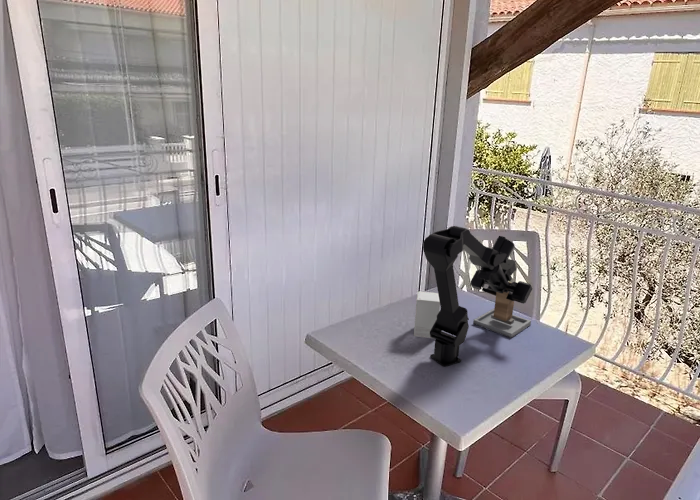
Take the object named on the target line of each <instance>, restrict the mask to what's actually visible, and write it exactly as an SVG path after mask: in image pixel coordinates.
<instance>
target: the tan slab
mask: <svg viewBox="0 0 700 500" xmlns="http://www.w3.org/2000/svg"><path fill="white" fill-rule="evenodd" d="M509 283H512V282H511V281H509ZM508 293H509V292H508ZM508 293H505V292H503V294H502V293H498V292H496V296H495V301H494V308H493V309H494V314H492V315H491V318H492V319H495V320H498V321H501V322H504V323H507V324H509V325H511V324H513V323H514V319H512V314H513V313H514V306H515V301H514V302H513V301H510V300H508V299H506V297H507V295H508ZM513 315H514V314H513Z"/></svg>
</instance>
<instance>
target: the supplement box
mask: <svg viewBox="0 0 700 500" xmlns="http://www.w3.org/2000/svg"><path fill="white" fill-rule="evenodd" d="M415 302H416V303H415V313H414V314H415V315H414V327H413V329H414V330H413V337H415V338H416V337H419V338H426V339H434V338H431V337H430V330H431V329H432V327H433V325H434V323H435V321H436V320H437V314H438V313H439V311H440V310H441V306H440V301H439V295H438V292H430V291H429V292H428V291H417V294H416V301H415Z"/></svg>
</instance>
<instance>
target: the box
mask: <svg viewBox="0 0 700 500" xmlns="http://www.w3.org/2000/svg"><path fill="white" fill-rule="evenodd" d="M492 314H494V308H492V309H490V310H488V311H487V312H485V313H483V314H481V315H480V316H477V317H476V318H474V319H473V323H472V324H473V325H475V326H477V327H481V328H483V329H486V330H488V331H492V332H494V333H496V334H499V335H502V336H503V337H504V336H505V337H507V338H510V339H512V338H514V337H515V336H517V335H518V334H520V333H521V332H522V331H524V330H525V329H527V328H528V327H530V326H531V324H532V320H530V319H527V318H524V317H521V316H519V315H516V314H512V319H514V323H513V324H511V325H509V324H507V323H504V322H501V321H498V320H495V319H492V318H491V315H492Z"/></svg>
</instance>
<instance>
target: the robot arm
mask: <svg viewBox="0 0 700 500" xmlns="http://www.w3.org/2000/svg"><path fill="white" fill-rule="evenodd" d="M515 246H516V245H515V243H514V242H512V241H511V240H510V239H507V238H506V237H505V236H503V235H499V236H498V237H497V238H496V240H495V241H494V244H493V246H491V247H492V248H491V247H488V246H485V245H484V244H483V243H482V242H481V241H480V240H478V239H477V237H476V236H474V235H473V233H472V232H471V230H469V229H468V228H466V227H463V226H462V227H461V226H458V225H451V226H450V227H447V229H442V230H439V231H434V232H432V233H431V234H429V235H428V236H427V237H425V238H424V239H423V243H422V250H423V253H424V257H425V259H426V261H427V262H428V263H429V264H430V266H431V267H432V268H433V270H434V271H433V272H434V277H435V282H436V288H437V293H438V295H439V301H440V310H439V313H438V314H437V320H436V321H435V323H434V325H433V327H432V329H431V330H430V337H431V338H430V339H433V338H434V339H435V340H434V348H433V349H434V350H433V353H432V354H430V358H431V359H432V360H434V361H435V362H437V363H438V364H439V365H441V366H442V367H448V366H451V365H455V364H458V363H461V362H462V359H461V358H459V354H460V347H461V345H462V344H464V343H465V341H466V338H467V334H468V331H469V328H470V327H469V326H470V325H469V316H468V309H467V308H466V307H464V306H461V305H459V299H458V298H459V297H458V291H457V284H456V277H455V271H454V263H455V261H456V260H457V258H458V257H459V255H460V254H461V253H462V252H463V251H464V252H465V253H467V255H469V256H468V259H469V261H470V262H471V264H472V265H474V266H477V267H480V268H479V269H477V270H476V271H475V272H474V274H473V276H472V278H471V279H470V286H471V288H472V289H475V290H478V291H479V290H481V291H482V292H483V293H486V294H489V295H493V296H495V297H496V292H498V293H502V294H503V292H505V293H508V292H509V293H508V295H507V297H506V299H508V300H510V301H513V302H514V303H515V302H517V303H519V304H520V303H521V304H526V303H527V300H528V299H529V297H530V295H531V293H532V291H533V286H532V285H531V283H527V282H525V281H522V280H521V281H520V280H519V281H518V282H515V281H512V279H513V277H512V275H513V274H514V273H515V272H516V270H517V265H516V260H514V259H510V256H511V255H512V252H513V250H514V248H515ZM511 281H512V282H511ZM509 282H511V283H509Z"/></svg>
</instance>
